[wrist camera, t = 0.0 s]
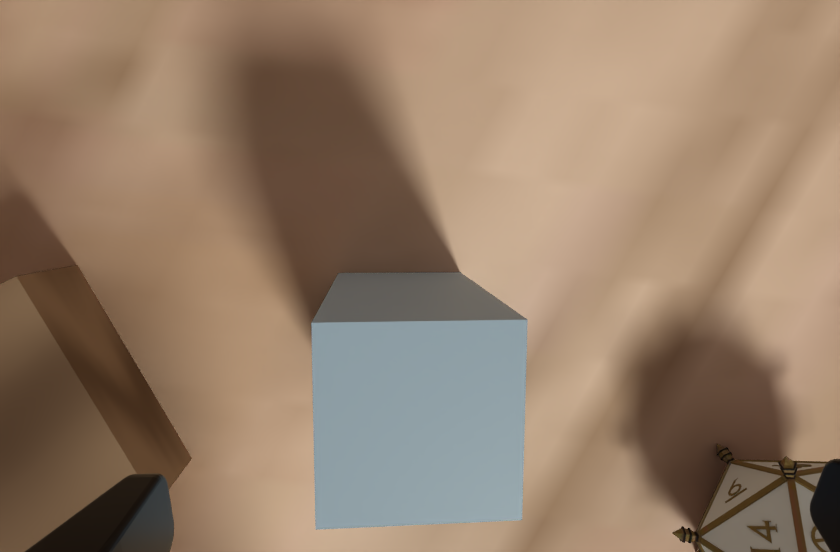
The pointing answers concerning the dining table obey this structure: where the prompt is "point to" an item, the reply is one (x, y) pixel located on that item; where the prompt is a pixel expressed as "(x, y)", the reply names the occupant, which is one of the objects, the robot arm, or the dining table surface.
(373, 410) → the blue block
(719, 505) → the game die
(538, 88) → the dining table surface
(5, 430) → the walnut block
